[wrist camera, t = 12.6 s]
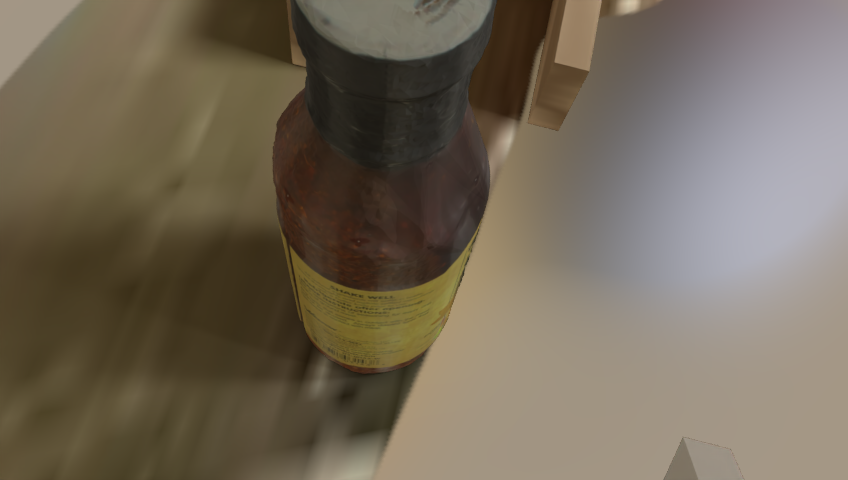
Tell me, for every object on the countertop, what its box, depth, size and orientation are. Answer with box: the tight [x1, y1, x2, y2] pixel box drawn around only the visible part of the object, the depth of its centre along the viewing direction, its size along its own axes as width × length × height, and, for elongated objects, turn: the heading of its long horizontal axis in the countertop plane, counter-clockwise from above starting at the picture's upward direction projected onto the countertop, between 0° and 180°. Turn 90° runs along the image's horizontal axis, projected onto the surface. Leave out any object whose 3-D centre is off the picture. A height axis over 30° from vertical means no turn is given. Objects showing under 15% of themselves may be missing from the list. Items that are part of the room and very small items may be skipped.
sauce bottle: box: [272, 0, 497, 374], centre depth 24 cm, size 7×6×20 cm
